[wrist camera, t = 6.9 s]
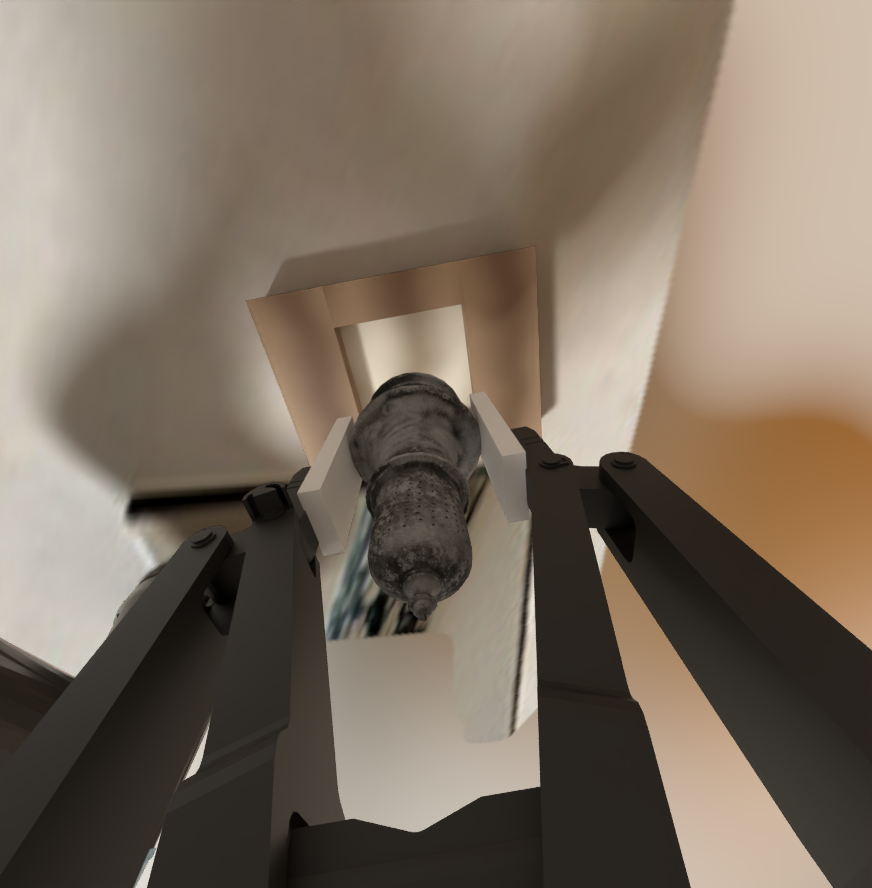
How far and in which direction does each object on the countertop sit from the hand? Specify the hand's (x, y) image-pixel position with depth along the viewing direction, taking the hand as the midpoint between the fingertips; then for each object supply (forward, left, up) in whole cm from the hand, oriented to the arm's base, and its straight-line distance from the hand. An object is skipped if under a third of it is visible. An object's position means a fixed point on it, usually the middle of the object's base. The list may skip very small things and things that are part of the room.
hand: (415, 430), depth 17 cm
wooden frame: (0, 0, -13) cm, 13 cm away
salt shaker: (0, 0, -2) cm, 2 cm away
